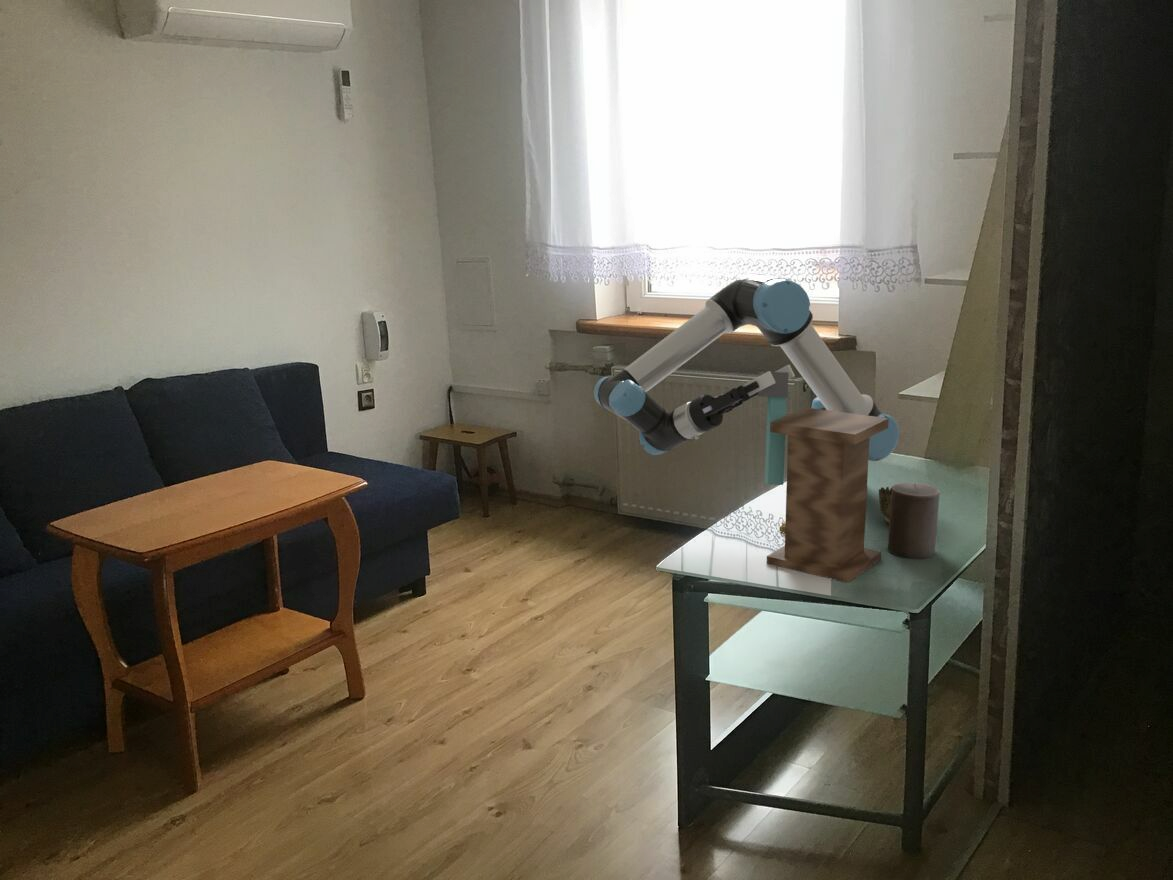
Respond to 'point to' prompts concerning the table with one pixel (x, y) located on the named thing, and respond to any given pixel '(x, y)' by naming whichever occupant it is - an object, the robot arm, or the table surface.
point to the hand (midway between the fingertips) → (781, 373)
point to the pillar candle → (913, 520)
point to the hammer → (773, 440)
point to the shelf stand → (826, 492)
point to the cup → (885, 502)
